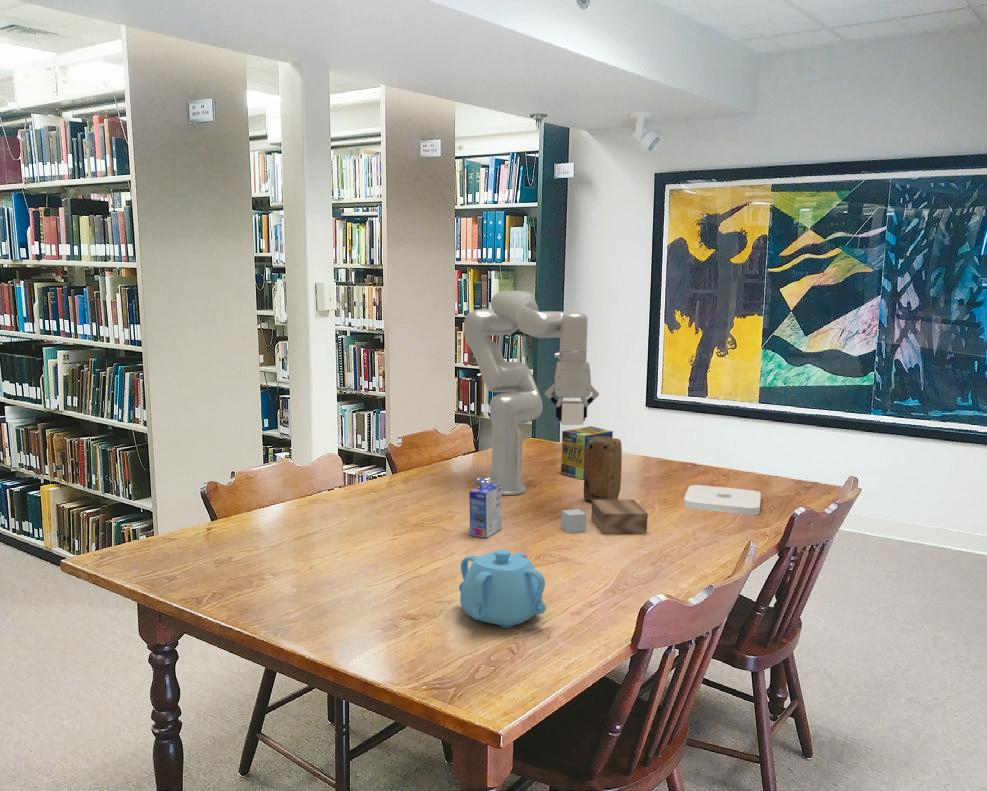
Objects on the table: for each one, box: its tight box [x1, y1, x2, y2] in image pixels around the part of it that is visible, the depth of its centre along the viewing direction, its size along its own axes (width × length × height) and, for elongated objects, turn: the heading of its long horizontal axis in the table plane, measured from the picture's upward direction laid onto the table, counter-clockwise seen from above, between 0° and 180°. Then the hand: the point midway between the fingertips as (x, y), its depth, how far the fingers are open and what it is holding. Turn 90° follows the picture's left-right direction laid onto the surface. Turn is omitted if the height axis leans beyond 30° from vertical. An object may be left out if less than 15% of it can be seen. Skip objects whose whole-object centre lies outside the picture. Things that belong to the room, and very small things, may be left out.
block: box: [583, 436, 623, 503], centre depth 250 cm, size 11×8×20 cm
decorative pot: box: [458, 548, 547, 629], centre depth 164 cm, size 16×16×14 cm
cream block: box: [558, 400, 584, 426], centre depth 234 cm, size 6×6×6 cm
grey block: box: [560, 508, 587, 534], centre depth 223 cm, size 5×5×5 cm
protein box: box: [560, 425, 614, 481], centre depth 286 cm, size 10×15×16 cm
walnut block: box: [590, 499, 649, 535], centre depth 226 cm, size 12×14×6 cm
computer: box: [683, 484, 762, 516], centre depth 253 cm, size 22×22×3 cm
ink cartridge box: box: [468, 476, 503, 539], centre depth 218 cm, size 10×6×14 cm, turn 155°
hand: (571, 419), depth 234 cm, fingers closed on cream block, 6 cm apart
